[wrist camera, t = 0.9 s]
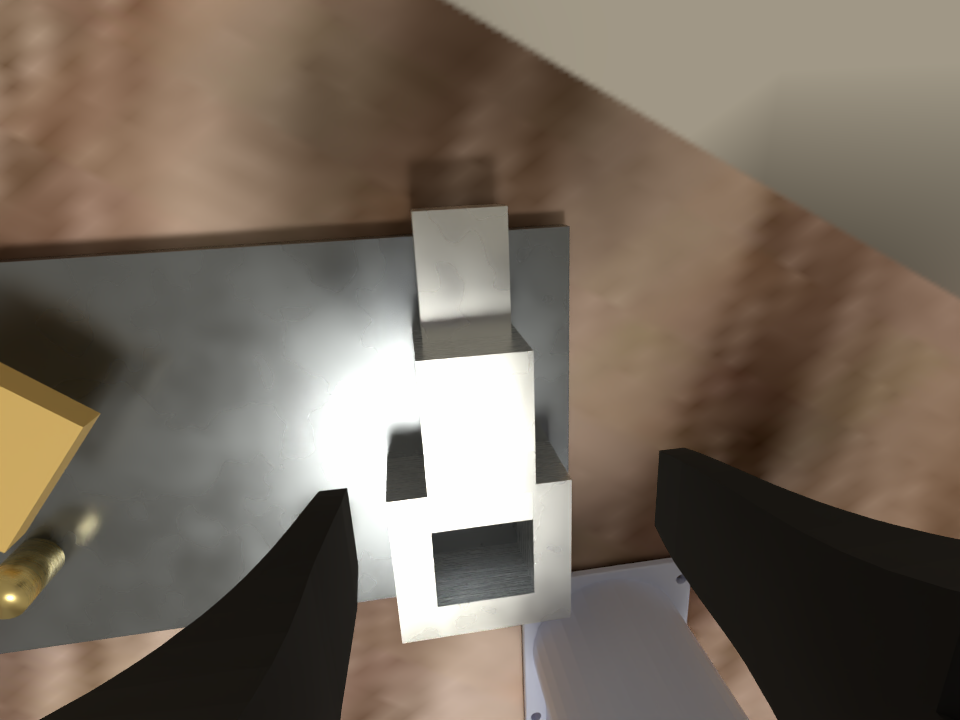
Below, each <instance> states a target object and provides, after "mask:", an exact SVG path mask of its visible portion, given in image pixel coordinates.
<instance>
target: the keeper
mask: <svg viewBox="0 0 960 720" xmlns="http://www.w3.org/2000/svg"><path fill="white" fill-rule="evenodd" d="M100 414H101V413H99V412H97V411H95V410H93V409H91V408H89V407H87V406H85V405H83V404H81V403H79V402H77V401H75V400H73V399H71V398H69V397H68V396H66V395H64V394H62V393H60V392H58V391H56V390H54V389H52V388H50V387H48V386H46V385H44V384H42V383H40V382H38V381H36V380H34V379H32V378H30V377H28V376H26V375H24V374H22V373H20V372H19V371H17V370H15V369H13V368H11V367H9V366H7V365H5V364H3V363H1V362H0V551H1V552H3V553H5V552H6V551H7V550H8V549H9V548H10V547H11V546H12V545H13V544H15V543H16V542H17V541H18V540H19V539H20V538H21V537H22V536H23V535H24V534H25V533H26V531H27V530H28V528H29V526H30V525H31V523H32V522H33V520H34V519H35V517H36V515H37V514H38V512H39V511H40V509H41V507H42V506H43V504H44V503H45V501H46V499H47V498H48V496H49V495H50V493H51V492H52V490H53V488H54V487H55V485H56V484H57V482H58V480H59V479H60V477H61V476H62V474H63V472H64V471H65V469H66V468H67V466H68V465H69V463H70V461H71V460H72V458H73V457H74V455H75V453H76V452H77V450H78V449H79V447H80V445H81V444H82V442H83V441H84V439H85V438H86V436H87V434H88V433H89V431H90V430H91V428H92V426H93V425H94V423H95V422H96V420H97V418H98V417H99V415H100Z"/></svg>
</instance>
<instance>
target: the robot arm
mask: <svg viewBox="0 0 960 720" xmlns="http://www.w3.org/2000/svg"><path fill="white" fill-rule="evenodd" d="M655 527H656V529H657V531H658V533H659V535H660V537H661V539H662V541H663V543H664V545H665V547H666V548H667V550H668V552H669V554H670V556H671V558H665V559H658V560H651V561H644V562H637V563H630V564H623V565H616V566H609V567H602V568H595V569H588V570H581V571H574V572H571V617H569V618H563V619H557V620H550V621H544V622H537V623H531V624H524V625H522V641H523V675H524V709H525V720H749V719H748V717H747V716H746V714H745V713H744V711H743V710H742V708H741V707H740V705H739V704H738V702H737V700H736V699H735V697H734V696H733V694H732V693H731V691H730V690H729V688H728V687H727V685H726V684H725V682H724V681H723V679H722V678H721V676H720V674H719V673H718V671H717V670H716V668H715V667H714V665H713V664H712V662H711V661H710V659H709V658H708V656H707V655H706V653H705V652H704V650H703V648H702V647H701V645H700V644H699V642H698V641H697V639H696V638H695V636H694V635H693V633H692V632H691V630H690V629H689V627H688V626H687V616H688V605H689V594H690V586H691V587H692V589H693V590H694V591H695V593H696V594H697V595H698V597H699V598H700V600H701V601H702V602H703V604H704V605H705V607H706V608H707V609H708V611H709V612H710V613H711V615H712V616H713V618H714V619H715V620H716V622H717V623H718V625H719V626H720V627H721V629H722V630H723V631H724V633H725V634H726V636H727V637H728V638H729V640H730V641H731V643H732V644H733V646H734V647H735V649H736V650H737V652H738V653H739V655H740V656H741V658H742V659H743V661H744V662H745V664H746V665H747V667H748V669H749V671H750V672H751V674H752V676H753V677H754V679H755V681H756V683H757V684H758V686H759V688H760V689H761V691H762V693H763V695H764V696H765V698H766V700H767V702H768V703H769V705H770V707H771V709H772V710H773V712H774V714H775V716H776V718H777V720H960V540H959V539H954V538H949V537H944V536H940V535H935V534H930V533H926V532H922V531H918V530H914V529H910V528H905V527H901V526H897V525H893V524H889V523H886V522H882V521H878V520H875V519H871V518H868V517H865V516H861V515H858V514H855V513H852V512H848V511H845V510H842V509H839V508H835V507H833V506H830V505H827V504H824V503H821V502H818V501H815V500H813V499H810V498H807V497H805V496H802V495H799V494H797V493H794V492H791V491H789V490H786V489H784V488H781V487H779V486H776V485H774V484H772V483H769V482H767V481H764V480H762V479H760V478H757V477H755V476H753V475H750V474H748V473H746V472H743V471H741V470H739V469H736V468H734V467H732V466H729V465H727V464H725V463H723V462H720V461H718V460H716V459H713V458H711V457H708V456H706V455H703V454H701V453H698V452H696V451H693V450H690V449H686V448H678V449H670V450H661V451H659V466H658V482H657V497H656V512H655ZM358 566H359V565H358V558H357V551H356V545H355V538H354V531H353V524H352V517H351V510H350V503H349V496H348V489H347V488H341V489H333V490H325V491H319V492H318V493H317V494H316V495H315V496H314V497H313V499H312V500H311V501H310V502H309V504H308V505H307V506H306V507H305V509H304V510H303V511H302V512H301V514H300V515H299V516H298V517H297V519H296V520H295V521H294V522H293V524H292V525H291V526H290V527H289V529H288V530H287V531H286V532H285V533H284V534H283V536H282V537H281V538H280V539H279V540H278V542H277V543H276V544H275V545H274V546H273V547H272V549H271V550H270V551H269V552H268V553H267V554H266V555H265V556H264V557H263V558H262V559H261V560H260V562H259V563H258V564H257V565H256V566H255V567H254V568H253V569H252V570H251V571H250V572H249V573H248V574H247V575H246V576H245V577H244V578H243V579H242V580H241V581H240V582H239V583H238V584H237V585H236V586H235V587H234V588H232V589H231V590H230V591H229V592H228V593H227V594H226V595H225V596H224V597H222V598H221V599H220V600H219V601H218V602H217V603H215V604H214V605H213V606H212V607H211V608H210V609H209V610H207V611H206V612H205V613H204V614H202V615H201V616H200V617H199V618H197V619H196V620H195V621H193V622H192V623H191V624H189V625H188V626H187V627H185V628H184V629H183V630H181V631H180V632H179V633H177V634H176V635H175V636H173V637H172V638H171V639H169V640H168V641H167V642H165V643H164V644H163V645H162V646H160V647H159V648H157V649H156V650H154V651H153V652H151V653H150V654H148V655H147V656H146V657H144V658H143V659H141V660H140V661H138V662H137V663H135V664H134V665H132V666H131V667H129V668H127V669H126V670H124V671H123V672H121V673H119V674H118V675H116V676H115V677H113V678H112V679H110V680H108V681H107V682H105V683H104V684H102V685H100V686H99V687H97V688H95V689H94V690H92V691H90V692H88V693H87V694H85V695H83V696H81V697H80V698H78V699H76V700H74V701H72V702H71V703H69V704H67V705H65V706H63V707H62V708H60V709H58V710H56V711H54V712H53V713H51V714H49V715H47V716H45V717H44V718H42V719H40V720H340V718H341V709H342V703H343V696H344V690H345V684H346V677H347V671H348V665H349V658H350V652H351V646H352V639H353V632H354V626H355V619H356V612H357V599H358ZM679 575H681V576H680V577H678V576H679ZM677 577H678V578H677Z"/></svg>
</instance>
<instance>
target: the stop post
mask: <svg viewBox="0 0 960 720" xmlns="http://www.w3.org/2000/svg"><path fill="white" fill-rule="evenodd" d="M64 562H65V555H64V552H63V550H62V549H61V548H60V547H59V546H58V545H57V544H56V543H54V542H52V541H50V540H46V539H41V538H36V539H30V540H27V541H25V542H23V543H22V544H21V545H20V546H19V547H18V548H17V549H16V550H15V551H14V552H12V553H11V554H10V555H9V556H8V557H7V558H6V559H5V560H4V561H3V562H2V563H1V564H0V619H12V618H15V617H17V616H19V615H21V614H22V613H23V612H24V611H25V610H26V609H27V608H28V606H29V605H30V604H31V603H32V602H33V601H34V599H35V598H36V597H37V596H38V595H39V594H40V592H41V591H42V590H43V589H44V588H45V587H46V585H47V584H48V583H49V582H50V581H51V580H52V578H53V577H54V576H55V575H56V574H57V572H58V571H59V570H60V569H61V568H62V566H63V565H64Z"/></svg>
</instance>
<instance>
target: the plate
mask: <svg viewBox="0 0 960 720" xmlns="http://www.w3.org/2000/svg"><path fill="white" fill-rule="evenodd" d="M508 236H509V269H510V302H511V323H512V325H513V326H514V327H515V328H516V329H517V331H518V332H519V333H520V334H521V336H522V337H523V338H524V339H525V341H526V342H527V343H528V344H529V346H530V347H531V348H532V349H533V351H534V406H535V442H544V441H549V442H550V443H551V445H552V447H553V449H554V450H555V452H556V454H557V455H558V457H559V459H560V461H561V462H562V464H563V466H564V467H565V469H566V471H567V472H568V428H569V226H567V225H547V226H531V227H515V228H508ZM415 330H420V319H419V307H418V295H417V284H416V272H415V260H414V249H413V237H412V234H404V235H389V236H373V237H357V238H341V239H325V240H310V241H294V242H278V243H262V244H246V245H231V246H215V247H199V248H183V249H167V250H151V251H136V252H120V253H104V254H88V255H72V256H57V257H41V258H25V259H9V260H0V362H1V363H3V364H5V365H7V366H9V367H11V368H13V369H15V370H17V371H19V372H20V373H22V374H24V375H26V376H28V377H30V378H32V379H34V380H36V381H38V382H40V383H42V384H44V385H46V386H48V387H50V388H52V389H54V390H56V391H58V392H60V393H62V394H64V395H66V396H68V397H69V398H71V399H73V400H75V401H77V402H79V403H81V404H83V405H85V406H87V407H89V408H91V409H93V410H95V411H97V412H99V413H101V414H100V415H99V417H98V418H97V420H96V422H95V423H94V425H93V426H92V428H91V430H90V431H89V433H88V434H87V436H86V438H85V439H84V441H83V442H82V444H81V445H80V447H79V449H78V450H77V452H76V453H75V455H74V457H73V458H72V460H71V461H70V463H69V465H68V466H67V468H66V469H65V471H64V472H63V474H62V476H61V477H60V479H59V480H58V482H57V484H56V485H55V487H54V488H53V490H52V492H51V493H50V495H49V496H48V498H47V499H46V501H45V503H44V504H43V506H42V507H41V509H40V511H39V512H38V514H37V515H36V517H35V519H34V520H33V522H32V523H31V525H30V526H29V528H28V530H27V531H26V533H25V534H24V535H23V536H22V537H21V538H20V539H19V540H18V541H17V542H16V543H15V544H13V545H12V546H11V547H10V548H9V549H8V550H7V551H6V552H5V553H3V552H1V551H0V564H1V563H2V562H3V561H4V560H5V559H6V558H7V557H8V556H9V555H10V554H11V553H12V552H14V551H15V550H16V549H17V548H18V547H19V546H20V545H21V544H22V543H23V542H25V541H27V540H30V539H36V538H41V539H46V540H50V541H52V542H54V543H56V544H57V545H58V546H59V547H60V548H61V549H62V550H63V552H64V555H65V562H64V565H63V566H62V568H61V569H60V570H59V571H58V572H57V574H56V575H55V576H54V577H53V578H52V580H51V581H50V582H49V583H48V584H47V585H46V587H45V588H44V589H43V590H42V591H41V592H40V594H39V595H38V596H37V597H36V598H35V599H34V601H33V602H32V603H31V604H30V605H29V606H28V608H27V609H26V610H25V611H24V612H23V613H22V614H21V615H19V616H17V617H15V618H12V619H0V654H3V653H10V652H17V651H23V650H30V649H37V648H44V647H51V646H58V645H65V644H72V643H79V642H86V641H93V640H100V639H107V638H114V637H121V636H128V635H135V634H142V633H148V632H155V631H162V630H169V629H176V628H183V627H187V626H188V625H189V624H191V623H192V622H193V621H195V620H196V619H197V618H199V617H200V616H201V615H202V614H204V613H205V612H206V611H207V610H209V609H210V608H211V607H212V606H213V605H214V604H215V603H217V602H218V601H219V600H220V599H221V598H222V597H224V596H225V595H226V594H227V593H228V592H229V591H230V590H231V589H232V588H234V587H235V586H236V585H237V584H238V583H239V582H240V581H241V580H242V579H243V578H244V577H245V576H246V575H247V574H248V573H249V572H250V571H251V570H252V569H253V568H254V567H255V566H256V565H257V564H258V563H259V562H260V560H261V559H262V558H263V557H264V556H265V555H266V554H267V553H268V552H269V551H270V550H271V549H272V547H273V546H274V545H275V544H276V543H277V542H278V540H279V539H280V538H281V537H282V536H283V534H284V533H285V532H286V531H287V530H288V529H289V527H290V526H291V525H292V524H293V522H294V521H295V520H296V519H297V517H298V516H299V515H300V514H301V512H302V511H303V510H304V509H305V507H306V506H307V505H308V504H309V502H310V501H311V500H312V499H313V497H314V496H315V495H316V494H317V493H318V492H319V491H325V490H333V489H341V488H347V489H348V496H349V503H350V510H351V517H352V524H353V531H354V538H355V545H356V551H357V558H358V565H359V566H358V599H357V602H364V601H371V600H378V599H385V598H392V597H397V593H396V585H395V576H394V568H393V560H392V551H391V543H390V535H389V526H388V518H387V510H386V473H387V459H394V458H402V457H411V456H420V455H423V446H422V435H421V424H420V413H419V402H418V391H417V380H416V369H415V358H414V347H413V336H412V331H415ZM431 539H432V550H433V554H436V553H443V552H451V551H458V550H465V549H473V548H480V547H487V546H495V545H502V544H510V543H517V542H518V541H517V522H509V523H502V524H494V525H487V526H479V527H471V528H464V529H456V530H448V531H441V532H433V533H431Z"/></svg>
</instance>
